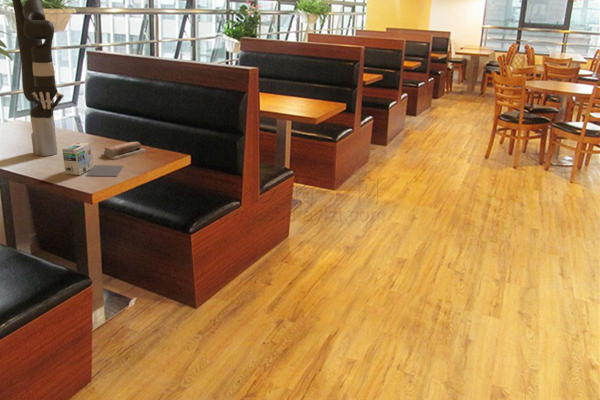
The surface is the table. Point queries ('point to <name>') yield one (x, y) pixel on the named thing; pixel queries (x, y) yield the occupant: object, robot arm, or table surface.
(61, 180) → the table surface
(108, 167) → the mat
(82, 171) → the light bulb box
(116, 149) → the packaged product
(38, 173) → the table surface
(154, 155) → the table surface
